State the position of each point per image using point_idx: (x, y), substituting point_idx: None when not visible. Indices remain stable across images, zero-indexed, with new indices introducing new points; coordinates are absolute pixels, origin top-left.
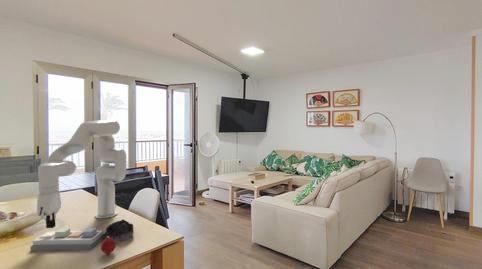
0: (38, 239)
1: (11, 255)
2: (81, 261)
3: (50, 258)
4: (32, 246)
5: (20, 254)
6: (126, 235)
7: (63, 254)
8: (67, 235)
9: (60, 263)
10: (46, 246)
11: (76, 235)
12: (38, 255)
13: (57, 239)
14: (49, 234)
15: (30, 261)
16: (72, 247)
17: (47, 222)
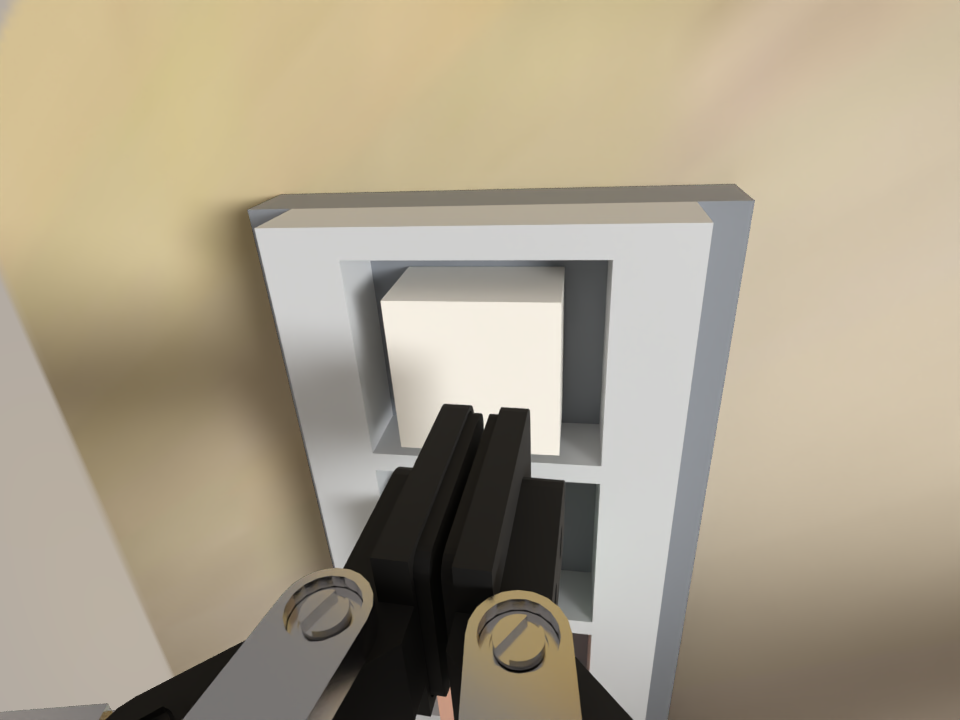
0: (311, 295)
1: (110, 11)
2: None
3: (194, 511)
4: (255, 238)
5: (169, 132)
6: None
7: (279, 572)
8: (595, 527)
9: (156, 608)
10: (298, 417)
11: (450, 704)
12: (209, 375)
13: (350, 548)
14: (470, 386)
15: (96, 379)
16: None
17: (360, 559)
